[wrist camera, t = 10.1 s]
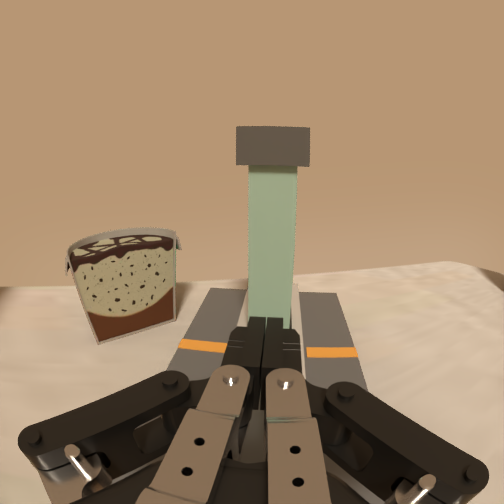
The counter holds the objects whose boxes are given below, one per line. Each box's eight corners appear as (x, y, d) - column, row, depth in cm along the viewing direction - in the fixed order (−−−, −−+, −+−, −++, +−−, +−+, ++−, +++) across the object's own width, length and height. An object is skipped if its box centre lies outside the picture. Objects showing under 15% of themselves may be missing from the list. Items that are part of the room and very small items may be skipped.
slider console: (108, 546, 7) (73, 523, 6) (212, 311, 34) (210, 277, 32) (380, 571, 6) (416, 555, 5) (332, 316, 32) (337, 283, 31)
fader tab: (238, 351, 21) (236, 126, 16) (246, 318, 26) (246, 133, 21) (296, 354, 21) (310, 127, 16) (295, 320, 26) (304, 134, 21)
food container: (165, 297, 37) (157, 221, 34) (187, 316, 32) (180, 230, 29) (76, 321, 29) (58, 240, 26) (85, 348, 25) (61, 254, 22)
